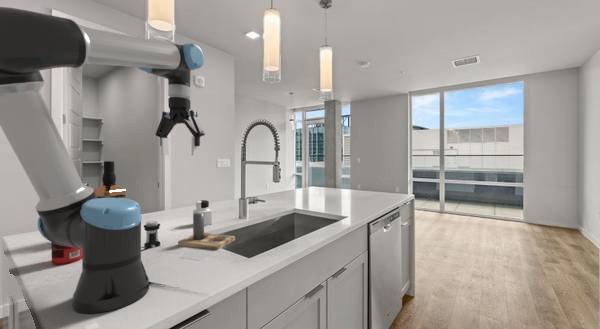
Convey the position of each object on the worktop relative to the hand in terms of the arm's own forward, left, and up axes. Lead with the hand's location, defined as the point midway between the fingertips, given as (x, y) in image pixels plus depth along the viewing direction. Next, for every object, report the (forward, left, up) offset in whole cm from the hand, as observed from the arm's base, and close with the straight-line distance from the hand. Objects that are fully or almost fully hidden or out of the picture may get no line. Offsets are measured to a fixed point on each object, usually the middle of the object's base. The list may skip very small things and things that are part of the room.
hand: (179, 155), depth 99 cm
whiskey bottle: (+2, +38, -35) cm, 52 cm away
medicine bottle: (+31, +14, -35) cm, 49 cm away
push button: (-6, +8, -35) cm, 36 cm away
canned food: (-22, +25, -35) cm, 48 cm away
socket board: (+5, -8, -35) cm, 36 cm away
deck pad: (-7, -13, -35) cm, 38 cm away
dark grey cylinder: (+5, -4, -35) cm, 35 cm away
